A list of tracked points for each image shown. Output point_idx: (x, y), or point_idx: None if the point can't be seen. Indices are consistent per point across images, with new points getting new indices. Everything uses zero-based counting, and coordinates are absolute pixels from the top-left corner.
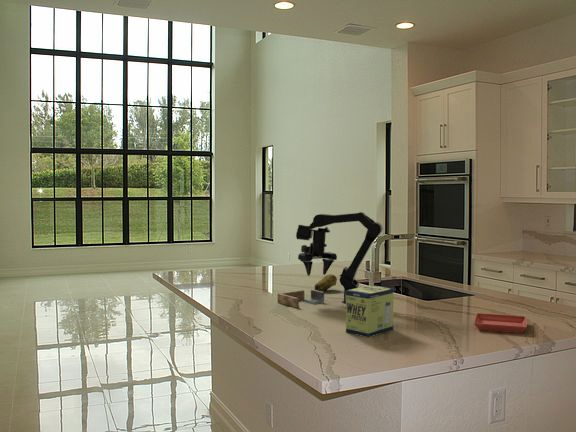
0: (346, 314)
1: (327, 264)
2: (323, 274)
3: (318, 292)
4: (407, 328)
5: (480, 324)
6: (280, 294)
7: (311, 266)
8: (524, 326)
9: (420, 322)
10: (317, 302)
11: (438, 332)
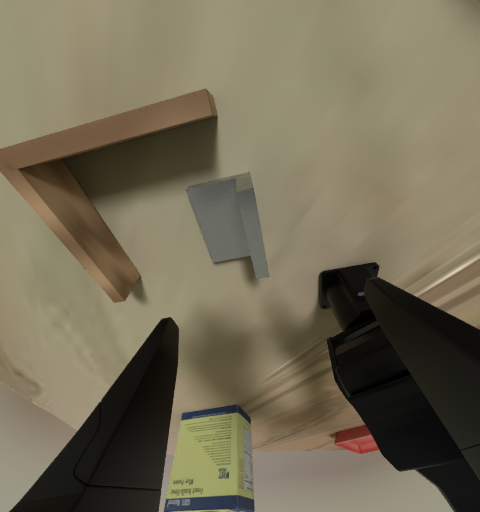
0: (176, 449)
1: (475, 444)
2: (367, 281)
3: (250, 254)
4: (271, 418)
5: (337, 444)
6: (15, 187)
7: (159, 473)
8: (359, 453)
9: (312, 410)
10: (228, 257)
11: (290, 429)
